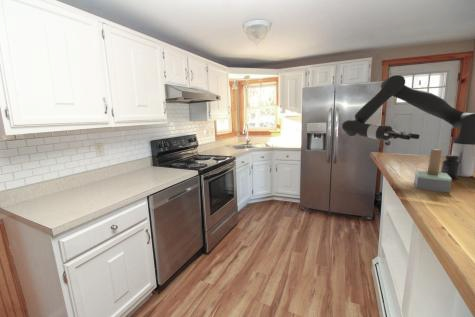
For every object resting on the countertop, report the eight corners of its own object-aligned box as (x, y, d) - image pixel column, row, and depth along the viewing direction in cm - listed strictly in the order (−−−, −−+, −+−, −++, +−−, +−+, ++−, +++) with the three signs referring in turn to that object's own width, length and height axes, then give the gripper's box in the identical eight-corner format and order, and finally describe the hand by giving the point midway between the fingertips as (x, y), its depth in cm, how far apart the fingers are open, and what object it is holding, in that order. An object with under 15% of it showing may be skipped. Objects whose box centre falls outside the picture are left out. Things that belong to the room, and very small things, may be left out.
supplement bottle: (461, 180, 116) (465, 157, 114) (445, 179, 117) (449, 156, 115) (451, 176, 123) (455, 154, 120) (436, 176, 124) (440, 154, 122)
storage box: (413, 184, 111) (415, 172, 110) (443, 187, 105) (446, 175, 104) (416, 190, 102) (417, 177, 101) (449, 195, 96) (451, 181, 95)
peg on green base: (415, 174, 110) (419, 147, 107) (445, 177, 104) (450, 148, 102) (417, 179, 101) (421, 150, 98) (451, 183, 95) (456, 152, 92)
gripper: (373, 125, 116) (409, 129, 102) (388, 124, 123) (423, 128, 109) (370, 139, 118) (405, 145, 104) (385, 138, 125) (419, 144, 111)
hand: (414, 137), depth 107 cm, fingers open, 8 cm apart
